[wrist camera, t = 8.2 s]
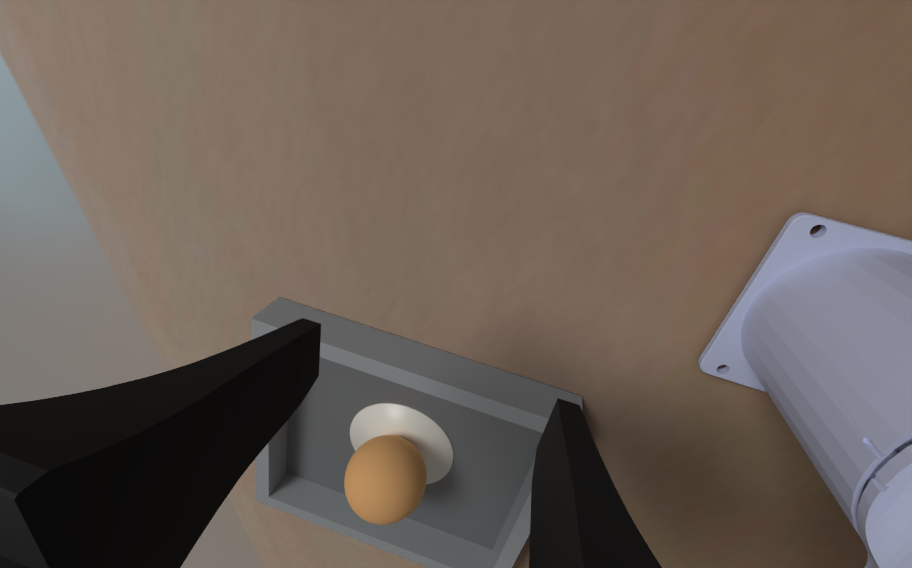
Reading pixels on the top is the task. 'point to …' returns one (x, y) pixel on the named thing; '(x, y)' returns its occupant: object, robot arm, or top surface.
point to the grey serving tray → (424, 425)
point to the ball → (385, 479)
